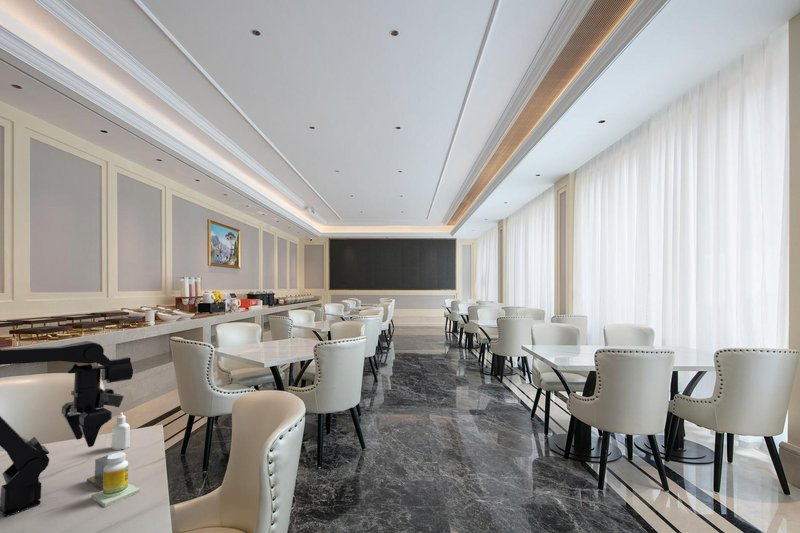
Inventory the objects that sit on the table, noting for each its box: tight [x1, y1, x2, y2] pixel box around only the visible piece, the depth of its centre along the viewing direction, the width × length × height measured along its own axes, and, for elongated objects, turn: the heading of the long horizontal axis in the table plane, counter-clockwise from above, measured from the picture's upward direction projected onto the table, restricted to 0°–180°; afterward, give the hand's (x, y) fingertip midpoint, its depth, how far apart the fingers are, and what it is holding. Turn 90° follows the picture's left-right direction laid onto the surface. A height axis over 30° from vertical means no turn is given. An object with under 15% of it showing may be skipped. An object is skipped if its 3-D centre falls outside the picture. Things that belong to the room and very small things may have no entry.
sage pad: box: [90, 482, 141, 508], centre depth 102 cm, size 8×8×1 cm
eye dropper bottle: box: [111, 411, 131, 451], centre depth 132 cm, size 4×6×12 cm
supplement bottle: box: [103, 451, 129, 497], centre depth 102 cm, size 5×5×10 cm
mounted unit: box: [86, 454, 109, 491], centre depth 109 cm, size 6×10×6 cm, turn 59°
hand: (84, 442), depth 107 cm, fingers open, 9 cm apart
